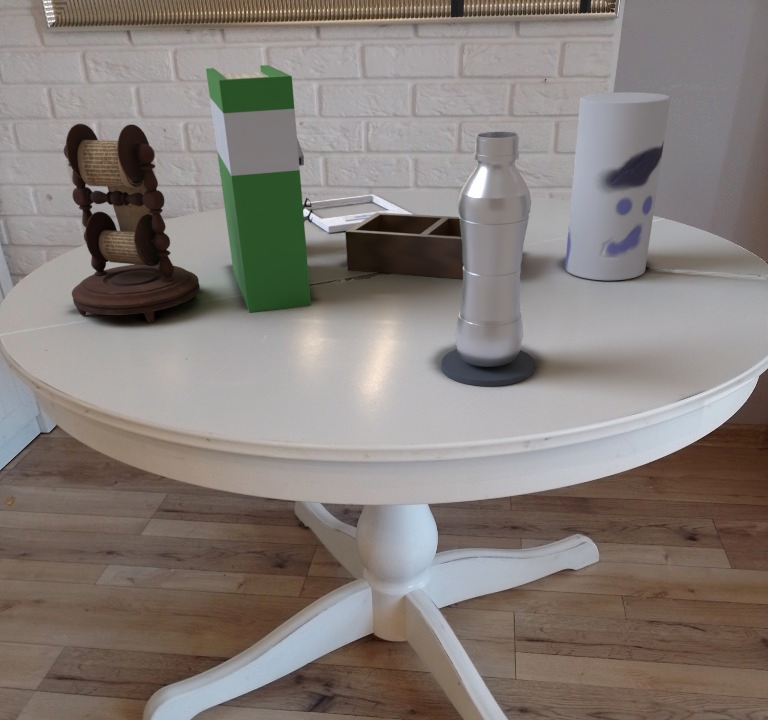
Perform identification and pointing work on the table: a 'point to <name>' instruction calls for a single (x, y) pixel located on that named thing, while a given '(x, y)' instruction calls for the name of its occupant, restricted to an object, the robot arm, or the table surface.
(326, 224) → the photo frame
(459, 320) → the silver bottle
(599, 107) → the container
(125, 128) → the scroll
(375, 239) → the wooden compartment box
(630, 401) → the table surface
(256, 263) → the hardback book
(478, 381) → the coaster
